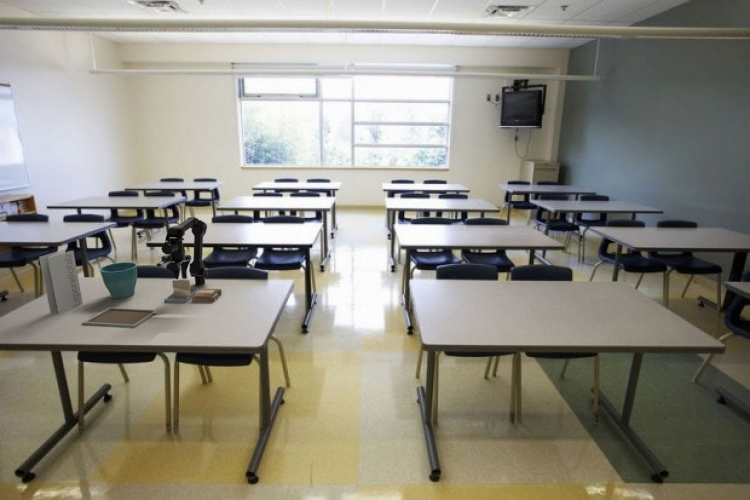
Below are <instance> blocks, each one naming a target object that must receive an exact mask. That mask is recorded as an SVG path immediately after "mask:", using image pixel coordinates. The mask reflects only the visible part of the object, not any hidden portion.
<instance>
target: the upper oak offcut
mask: <svg viewBox="0 0 750 500" xmlns="http://www.w3.org/2000/svg"><path fill="white" fill-rule="evenodd" d="M214 294H215V293H214V291H208V290H198V291H197V292H196V293H195V296H196V297H212V296H213V295H214Z"/></svg>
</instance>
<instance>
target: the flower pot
mask: <svg viewBox="0 0 750 500" xmlns="http://www.w3.org/2000/svg"><path fill="white" fill-rule="evenodd" d="M137 266H138V264H137V263H135V262H129V261H128V262H127V261H125V262H115V263H110V264H107V265H104V266H102V267H100V268H99V271H100V275H101V277H102V281H103V283H104V286H105V288H106V289H107V291H108V293H109V295H110V297H111V298H113V299H123V298H129V297H131V296H133V295H135V292H136V291H135V290H136V286H137V281H138V272H137V270H138V269H137Z"/></svg>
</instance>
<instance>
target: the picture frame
mask: <svg viewBox="0 0 750 500" xmlns="http://www.w3.org/2000/svg"><path fill="white" fill-rule="evenodd" d="M155 311H156V309H143V308H130V307H129V308H128V307H127V308H126V307H112V306H111V307H107V308H105V309H104V310H101V312H98V313H95V314H91V315H90V318H88V319H86V320H84V321H82V322H81V324H82V325H84V326H103V327H115V328H116V327H117V328H119V327H120V328H137V327H139V326H141V325H142V324H143V323H145V322H146V321H147V320H149V319H151V318H152V317H153V316H155V315H156V314H157V313H153V312H155Z"/></svg>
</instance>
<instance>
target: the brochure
mask: <svg viewBox="0 0 750 500" xmlns="http://www.w3.org/2000/svg"><path fill="white" fill-rule="evenodd" d="M38 258H39V263H40V268H41V272H42V278H43V279H42V280H43V284H44V288H45V294H46V299H47V304H48V308H49V313H50V314H51V313H55V312H56V311H57V312H58V314H59V315H61V314H62V313H65V312H67V311H69V310H72V309H74V308H76V307H79V306H82V305H83V297H82V291H81V285H80V280H79V275H78V270H77V263H76V259H75V252H74V250H70V251H67V252H66V249H63V250H58V251H56V252H52V253H48V254H45V255H42V256H39V257H38Z"/></svg>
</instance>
